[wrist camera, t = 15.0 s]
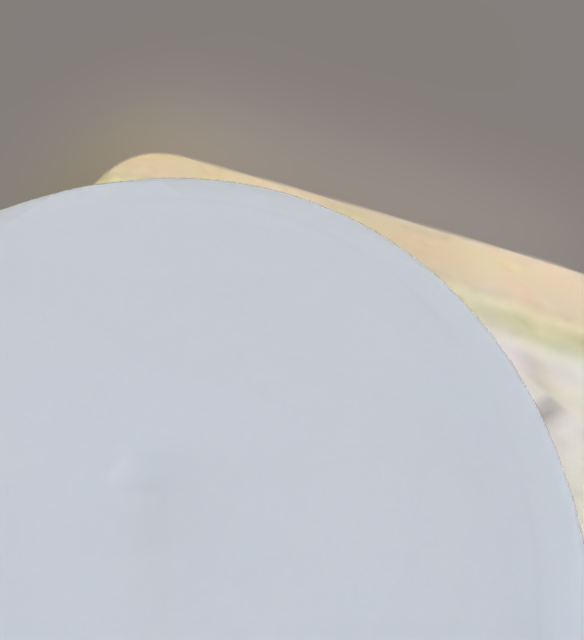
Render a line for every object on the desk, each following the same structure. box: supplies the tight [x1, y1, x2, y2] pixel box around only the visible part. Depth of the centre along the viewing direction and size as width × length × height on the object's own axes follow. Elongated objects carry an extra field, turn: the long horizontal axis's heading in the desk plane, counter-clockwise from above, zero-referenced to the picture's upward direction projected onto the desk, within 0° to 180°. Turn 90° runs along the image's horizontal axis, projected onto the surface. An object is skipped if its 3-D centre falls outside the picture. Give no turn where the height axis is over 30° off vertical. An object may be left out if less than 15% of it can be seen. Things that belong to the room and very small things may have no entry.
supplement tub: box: [0, 178, 584, 640], centre depth 11 cm, size 10×10×15 cm
